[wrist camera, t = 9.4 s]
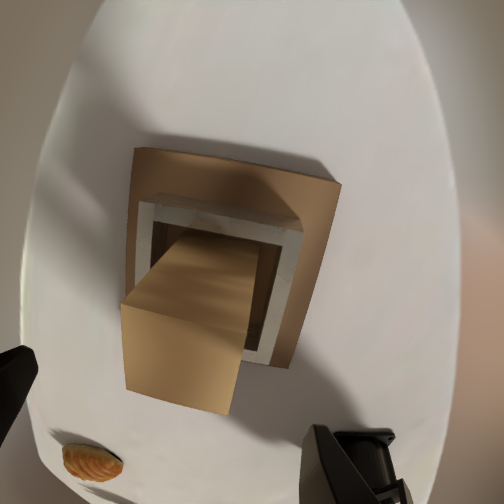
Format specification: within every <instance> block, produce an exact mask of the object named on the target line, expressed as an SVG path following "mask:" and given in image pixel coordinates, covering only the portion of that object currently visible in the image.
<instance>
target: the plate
mask: <svg viewBox="0 0 504 504" xmlns="http://www.w3.org/2000/svg"><path fill="white" fill-rule="evenodd" d="M341 186H342V185H341V184H340V183H338V182H336V181H332V180H328V179H324V178H320V177H315V176H311V175H307V174H302V173H298V172H293V171H288V170H283V169H279V168H274V167H269V166H264V165H258V164H253V163H248V162H242V161H237V160H231V159H225V158H219V157H213V156H206V155H200V154H193V153H186V152H179V151H171V150H163V149H155V148H146V147H140V148H134V156H133V165H132V174H131V184H130V195H129V208H128V223H127V245H126V297H127V295H128V294H129V293H130V292H131V291H132V290H133V289H134V287H135V261H136V238H137V222H138V209H139V201H140V200H142V199H145V198H147V197H149V196H151V195H153V194H155V193H157V192H161V193H167V194H173V195H179V196H185V197H191V198H196V199H202V200H208V201H213V202H219V203H224V204H229V205H235V206H240V207H245V208H250V209H255V210H260V211H265V212H270V213H275V214H280V215H285V216H290V217H295V218H299V219H301V223H302V226H303V229H304V232H305V233H304V238H303V242H302V246H301V250H300V254H299V257H298V261H297V265H296V269H295V273H294V277H293V281H292V284H291V288H290V292H289V296H288V299H287V303H286V307H285V310H284V314H283V317H282V321H281V325H280V328H279V332H278V335H277V339H276V342H275V346H274V349H273V352H272V356H271V359H270V363H269V365H267V366H273V367H279V368H286V369H288V367H289V365H290V362H291V359H292V356H293V353H294V350H295V347H296V344H297V341H298V338H299V335H300V332H301V329H302V326H303V323H304V319H305V316H306V313H307V310H308V307H309V304H310V300H311V297H312V294H313V290H314V287H315V284H316V280H317V277H318V273H319V270H320V266H321V263H322V259H323V256H324V252H325V249H326V245H327V241H328V238H329V234H330V230H331V226H332V222H333V219H334V215H335V211H336V207H337V203H338V199H339V195H340V190H341ZM186 230H187V231H192V232H197V233H202V234H207V235H212V236H217V237H222V238H227V239H232V240H237V241H242V242H246V243H251V244H256V245H260V248H259V255H258V262H257V269H256V276H255V283H254V289H253V296H252V303H251V310H250V317H249V324H252V325H257V326H260V322H261V318H262V313H263V309H264V305H265V301H266V297H267V292H268V288H269V284H270V280H271V275H272V271H273V267H274V262H275V258H276V254H277V249H278V245H276V244H271V243H266V242H261V241H256V240H251V239H246V238H241V237H235V236H230V235H225V234H220V233H215V232H210V231H205V230H200V229H194V228H189V227H184V226H179V225H174V224H169V225H168V235H167V246H166V252H167V251H168V250H169V249H170V248H171V246H172V245H173V244H174V243H175V242H176V241H177V240H178V239H179V238H180V237H181V236H182V235H183V234H184V233H185V232H186ZM241 361H243V360H241ZM244 362H248V361H244ZM250 363H254V362H250ZM255 364H260V363H255ZM261 365H265V364H261Z"/></svg>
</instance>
